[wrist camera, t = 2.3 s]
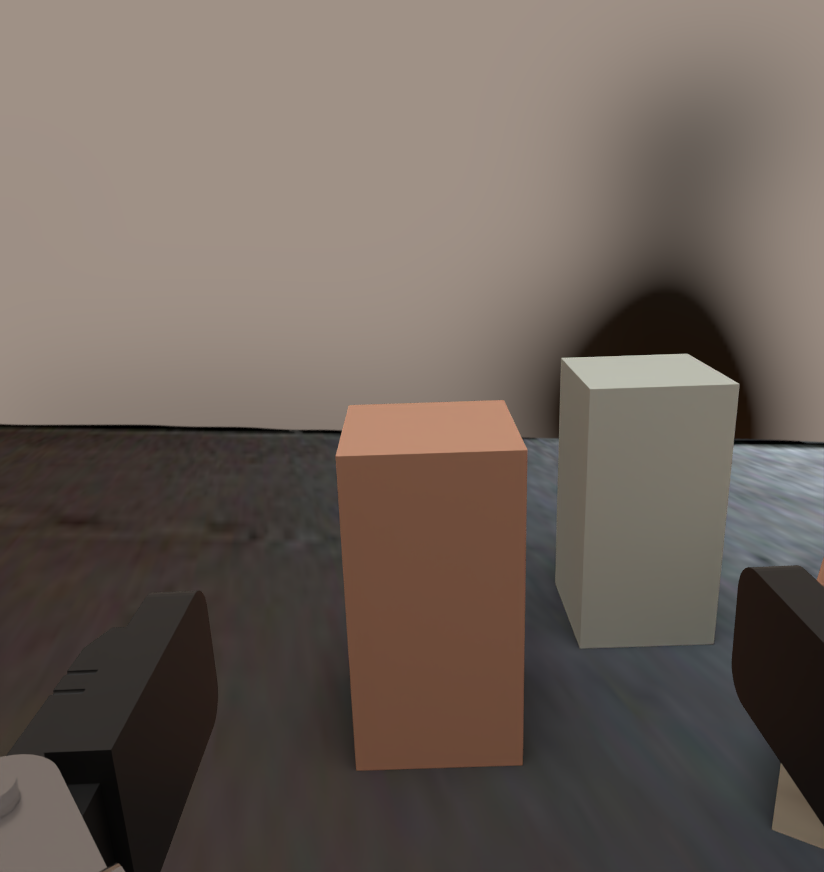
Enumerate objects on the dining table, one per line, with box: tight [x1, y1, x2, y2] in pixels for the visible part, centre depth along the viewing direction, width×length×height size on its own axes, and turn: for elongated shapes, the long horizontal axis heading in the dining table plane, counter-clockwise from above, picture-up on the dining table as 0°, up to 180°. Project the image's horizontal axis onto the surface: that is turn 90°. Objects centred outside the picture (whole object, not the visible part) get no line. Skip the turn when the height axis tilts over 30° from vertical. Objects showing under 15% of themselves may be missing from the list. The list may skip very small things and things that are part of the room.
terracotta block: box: [336, 400, 527, 771], centre depth 24 cm, size 5×5×10 cm
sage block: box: [555, 354, 739, 649], centre depth 30 cm, size 5×5×10 cm
